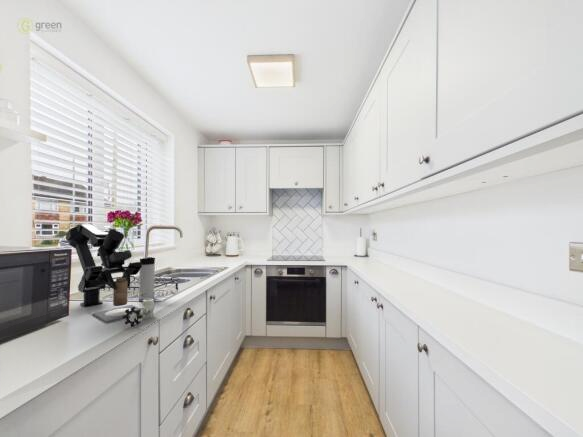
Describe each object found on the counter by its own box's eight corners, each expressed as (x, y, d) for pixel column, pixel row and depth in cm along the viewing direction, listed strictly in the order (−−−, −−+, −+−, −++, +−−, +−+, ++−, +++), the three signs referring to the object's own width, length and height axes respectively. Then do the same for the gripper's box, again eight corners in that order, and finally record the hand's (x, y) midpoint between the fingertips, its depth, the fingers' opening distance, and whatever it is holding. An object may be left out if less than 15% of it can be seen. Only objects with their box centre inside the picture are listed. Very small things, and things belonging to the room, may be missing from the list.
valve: (142, 315, 104) (122, 326, 92) (142, 298, 104) (122, 307, 92) (159, 315, 104) (141, 327, 92) (159, 298, 104) (141, 307, 92)
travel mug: (142, 302, 121) (143, 258, 122) (136, 300, 125) (137, 256, 126) (156, 299, 126) (157, 256, 126) (150, 297, 130) (151, 255, 131)
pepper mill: (110, 305, 103) (110, 279, 104) (120, 302, 108) (120, 277, 108) (120, 306, 102) (121, 279, 103) (129, 303, 107) (130, 277, 107)
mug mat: (92, 315, 103) (92, 312, 103) (131, 306, 115) (131, 304, 115) (106, 323, 95) (106, 320, 95) (147, 313, 106) (147, 310, 106)
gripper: (89, 245, 100) (102, 278, 94) (140, 242, 116) (154, 271, 110) (79, 264, 104) (91, 297, 98) (130, 259, 120) (143, 288, 113)
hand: (122, 287), depth 104 cm, fingers closed on pepper mill, 5 cm apart
